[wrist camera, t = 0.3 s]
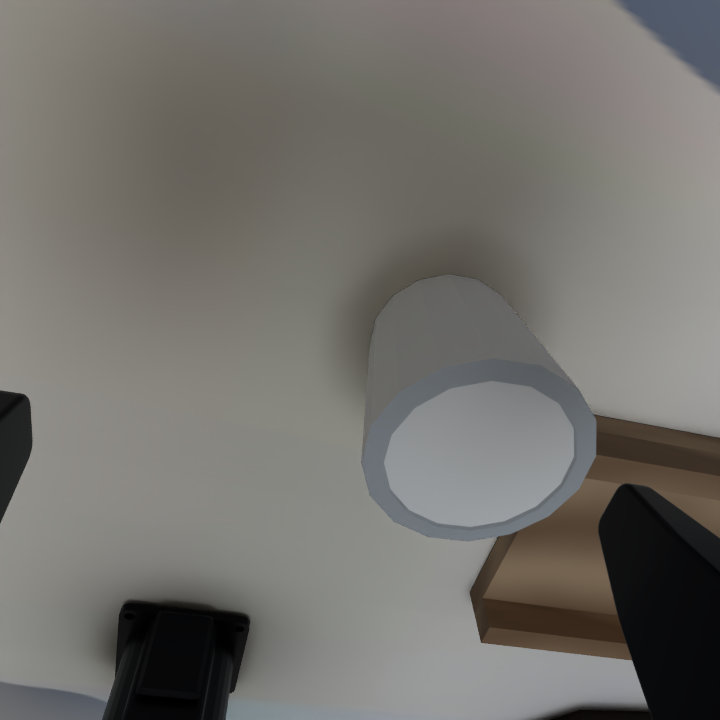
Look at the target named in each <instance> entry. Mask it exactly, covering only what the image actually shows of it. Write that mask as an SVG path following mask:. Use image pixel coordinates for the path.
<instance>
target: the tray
mask: <svg viewBox="0 0 720 720" xmlns="http://www.w3.org/2000/svg"><path fill="white" fill-rule="evenodd" d="M594 417H595V419H596V457H595V459H594V461H593V463H592V465H591V467H590V469H589V471H588V473H587V475H586V476H585V478H584V480H583V482H582V484H581V486H580V488H579V490H578V491H577V492H575V493H574V494H573V495H572V496H571V497H570V498H569V499H568V500H566V501H565V502H564V503H563V504H562V505H561V506H560V507H559V508H558V509H556V510H555V511H554V512H553V513H552V514H551V515H550V516H549V517H546V518H544V519H542V520H540V521H538V522H536V523H534V524H531V525H529V526H527V527H525V528H523V529H521V530H518V531H516V532H514V533H512V534H509V535H503V536H499V537H498V539H497V541H496V543H495V545H494V547H493V549H492V551H491V553H490V555H489V556H488V558H487V560H486V562H485V564H484V566H483V568H482V570H481V572H480V574H479V576H478V578H477V580H476V582H475V584H474V586H473V588H472V590H471V591H470V596H471V601H472V605H473V609H474V614H475V618H476V622H477V627H478V631H479V636H480V640H481V643H488V644H496V645H505V646H514V647H522V648H531V649H539V650H548V651H557V652H565V653H574V654H582V655H591V656H599V657H608V658H617V659H625V660H632V658H631V655H630V652H629V650H628V647H627V644H626V641H625V638H624V635H623V632H622V628H621V625H620V622H619V618H618V614H617V611H616V607H615V603H614V598H613V594H612V590H611V586H610V581H609V577H608V573H607V569H606V564H605V560H604V556H603V552H602V547H601V543H600V539H599V534H598V524H599V520H600V518H601V516H602V514H603V512H604V510H605V509H606V507H607V505H608V503H609V502H610V500H611V498H612V496H613V495H614V493H615V491H616V490H617V488H618V487H619V486H620V485H622V484H624V483H631V484H637V485H644V486H648V487H650V488H652V489H653V490H654V491H656V492H657V493H659V494H660V495H661V496H663V497H664V498H665V499H667V500H668V501H670V502H671V503H672V504H674V505H675V506H676V507H678V508H679V509H681V510H682V511H683V512H685V513H686V514H687V515H689V516H690V517H692V518H693V519H694V520H696V521H697V522H698V523H700V524H701V525H703V526H704V527H705V528H707V529H708V530H709V531H711V532H712V533H714V534H715V535H716V536H718V537H719V538H720V438H715V437H709V436H704V435H699V434H693V433H688V432H682V431H677V430H672V429H666V428H661V427H656V426H650V425H645V424H639V423H634V422H629V421H623V420H618V419H612V418H607V417H602V416H596V415H594Z"/></svg>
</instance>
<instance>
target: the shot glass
mask: <svg viewBox="0 0 720 720" xmlns="http://www.w3.org/2000/svg"><path fill="white" fill-rule="evenodd" d="M595 457H596V419H595V417H594V415H593V413H592V412H591V410H590V408H589V407H588V405H587V403H586V401H585V400H584V398H583V396H582V394H581V393H580V391H579V389H578V388H577V387H576V385H575V384H574V383H573V382H572V380H571V379H570V378H569V377H568V376H567V374H566V373H565V372H564V371H563V370H562V368H561V367H560V366H559V365H558V364H557V362H556V361H555V360H554V359H553V358H552V356H551V355H550V354H549V353H548V352H547V350H546V349H545V348H544V347H543V345H542V344H541V343H540V342H539V341H538V339H537V338H536V337H535V336H534V335H533V333H532V332H531V331H530V330H529V329H528V327H527V326H526V325H525V324H524V323H523V321H522V320H521V319H520V318H519V317H518V315H517V314H516V313H515V312H514V310H513V309H512V308H511V307H510V306H509V304H508V303H507V302H506V301H505V300H504V298H503V297H502V296H501V295H500V294H499V293H498V292H496V291H494V290H493V289H491V288H490V287H488V286H487V285H485V284H484V283H482V282H481V281H479V280H477V279H473V278H467V277H461V276H455V275H450V274H447V275H442V276H437V277H432V278H427V279H422V280H418V281H416V282H415V283H413V284H411V285H410V286H408V287H406V288H405V289H403V290H402V291H400V292H398V293H397V294H395V295H393V296H392V298H391V299H390V300H389V302H388V303H387V304H386V306H385V307H384V308H383V309H382V311H381V312H380V313H379V315H378V316H377V317H376V320H375V324H374V328H373V333H372V337H371V341H370V350H369V364H368V378H367V392H366V405H365V419H364V433H363V447H362V460H361V463H362V467H363V470H364V474H365V478H366V482H367V486H368V490H369V493H370V496H371V497H372V498H373V499H374V500H375V501H376V502H377V504H378V505H379V506H380V507H381V508H382V509H383V510H384V511H385V512H386V513H387V514H388V516H389V517H390V518H391V519H392V520H393V521H394V522H397V523H399V524H401V525H403V526H405V527H408V528H410V529H412V530H414V531H416V532H419V533H421V534H423V535H425V536H427V537H434V538H443V539H452V540H461V541H473V540H479V539H485V538H491V537H497V536H503V535H509V534H512V533H514V532H516V531H518V530H521V529H523V528H525V527H527V526H529V525H531V524H534V523H536V522H538V521H540V520H542V519H544V518H546V517H549V516H550V515H551V514H552V513H553V512H554V511H555V510H556V509H558V508H559V507H560V506H561V505H562V504H563V503H564V502H565V501H566V500H568V499H569V498H570V497H571V496H572V495H573V494H574V493H575V492H577V491H578V490H579V488H580V486H581V484H582V482H583V480H584V478H585V476H586V475H587V473H588V471H589V469H590V467H591V465H592V463H593V461H594V459H595Z"/></svg>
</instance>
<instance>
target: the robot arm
mask: <svg viewBox="0 0 720 720" xmlns="http://www.w3.org/2000/svg"><path fill="white" fill-rule="evenodd" d="M31 449H32V424H31V407H30V401H29V398H28V397H27V396H26V395H25V394H21V393H14V392H7V391H0V523H1V521H2V518H3V516H4V514H5V512H6V509H7V507H8V505H9V502H10V500H11V498H12V496H13V493H14V491H15V489H16V487H17V484H18V482H19V480H20V477H21V475H22V473H23V471H24V468H25V466H26V464H27V462H28V459H29V457H30V454H31ZM598 534H599V539H600V543H601V547H602V552H603V556H604V560H605V564H606V569H607V573H608V577H609V581H610V586H611V590H612V594H613V598H614V603H615V607H616V611H617V614H618V618H619V622H620V625H621V628H622V632H623V635H624V638H625V641H626V644H627V647H628V650H629V652H630V655H631V658H632V661H633V664H634V667H635V670H636V673H637V676H638V679H639V682H640V685H641V687H642V690H643V693H644V696H645V699H646V702H647V705H648V708H649V711H650V714H651V717H652V720H720V538H719V537H718V536H716V535H715V534H714V533H712V532H711V531H709V530H708V529H707V528H705V527H704V526H703V525H701V524H700V523H698V522H697V521H696V520H694V519H693V518H692V517H690V516H689V515H687V514H686V513H685V512H683V511H682V510H681V509H679V508H678V507H676V506H675V505H674V504H672V503H671V502H670V501H668V500H667V499H665V498H664V497H663V496H661V495H660V494H659V493H657V492H656V491H654V490H653V489H652V488H650V487H648V486H644V485H637V484H631V483H624V484H622V485H620V486H619V487H618V488H617V490H616V491H615V493H614V495H613V496H612V498H611V500H610V502H609V503H608V505H607V507H606V509H605V510H604V512H603V514H602V516H601V518H600V520H599V524H598ZM249 626H250V620H249V619H248V618H246V617H243V616H237V615H228V614H220V613H211V612H202V611H194V610H185V609H177V608H168V607H159V606H151V605H142V604H134V603H128V604H124V605H123V606H122V608H121V611H120V614H119V624H118V640H117V655H116V671H115V680H114V684H113V687H112V690H111V693H110V696H109V699H108V703H107V706H106V709H105V712H104V715H103V719H102V720H225V719H226V713H227V706H228V699H229V693H232V692H234V690H235V686H236V682H237V678H238V674H239V670H240V665H241V661H242V657H243V653H244V649H245V645H246V640H247V636H248V632H249Z"/></svg>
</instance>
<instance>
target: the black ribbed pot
mask: <svg viewBox="0 0 720 720" xmlns="http://www.w3.org/2000/svg"><path fill="white" fill-rule="evenodd" d="M550 720H652V717H651V714H650V712H643V711H603V710H579V711H575V712H572V713H569V714H566V715H563V716H560V717H557V718H554V719H550Z"/></svg>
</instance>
